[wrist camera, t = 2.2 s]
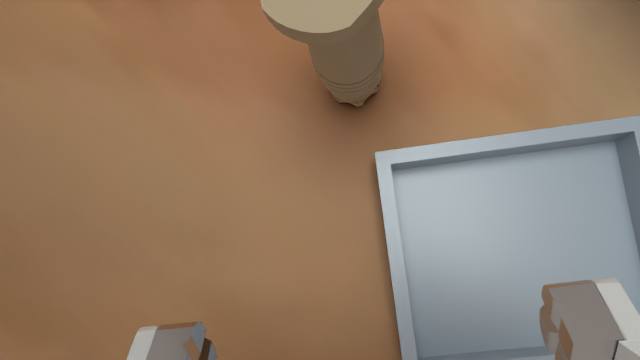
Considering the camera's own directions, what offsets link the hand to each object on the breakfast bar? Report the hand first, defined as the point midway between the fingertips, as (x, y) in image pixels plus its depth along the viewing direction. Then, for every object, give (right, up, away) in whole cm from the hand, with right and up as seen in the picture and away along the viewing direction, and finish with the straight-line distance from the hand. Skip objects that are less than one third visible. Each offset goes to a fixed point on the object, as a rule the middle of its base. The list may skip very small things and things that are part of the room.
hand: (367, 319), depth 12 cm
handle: (+1, +9, +21) cm, 23 cm away
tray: (+10, -1, +18) cm, 21 cm away
